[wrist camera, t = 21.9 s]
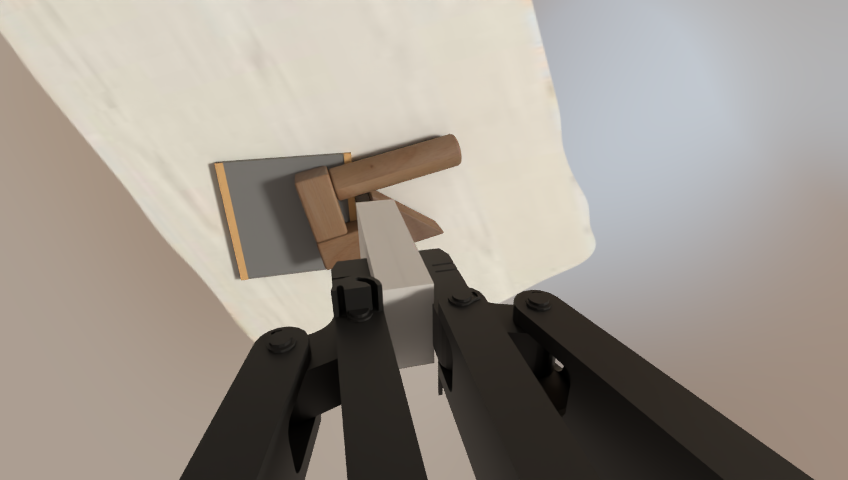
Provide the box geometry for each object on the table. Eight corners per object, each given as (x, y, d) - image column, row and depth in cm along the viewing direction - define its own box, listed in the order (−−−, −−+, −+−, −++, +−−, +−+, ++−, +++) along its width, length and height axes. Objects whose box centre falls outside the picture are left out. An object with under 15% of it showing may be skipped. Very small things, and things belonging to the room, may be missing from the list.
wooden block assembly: (326, 272, 49) (474, 223, 52) (293, 183, 44) (459, 135, 47) (324, 257, 52) (463, 213, 55) (292, 173, 47) (448, 129, 50)
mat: (215, 161, 46) (214, 163, 45) (350, 152, 48) (351, 154, 48) (241, 277, 52) (241, 280, 51) (360, 262, 55) (360, 265, 54)
